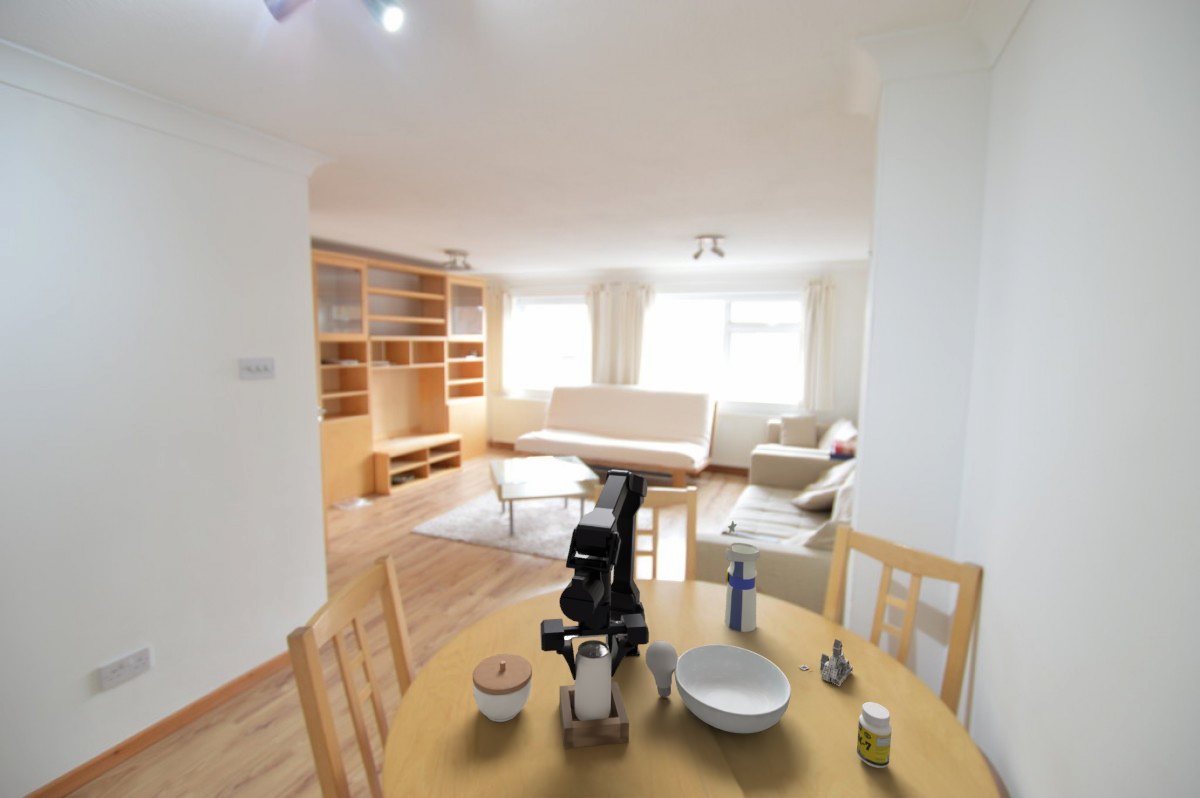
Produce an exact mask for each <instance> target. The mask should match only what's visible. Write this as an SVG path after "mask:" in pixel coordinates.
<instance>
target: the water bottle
mask: <svg viewBox="0 0 1200 798" xmlns="http://www.w3.org/2000/svg"><path fill="white" fill-rule="evenodd" d="M737 525H738V524H737V523H735V522H734V520H732V521H731V524H730V525H728V526H727V527H728V529H729V531H728V534H731V533H736V532H735V528H736V526H737ZM725 556H726V557H725V558H726V560H727V561H729V562H730V564H729V566H728V568H727V570H726V572H725V573H726V574H725V581H726V583H727V585H726V595H725V596H726V597H725V610H724V619H723V620H724V622H723V623H724V624H725V626H726V625H727V626H726V627H728V628H729V629H731V630H732V631H733V630H734V631H736V632H739V633H741V632H742V633H750V632H752V631H755V630H756V629H757V587H756V577H757V575H758V571H757V570H756V566H755V565H756V561H758V560H759V559H760V558H761V554H760V549H759V548H758V547H757V546H755V545H752V544H748V543H744V542H733V543H731V549H729V548H728V547H727V548H726V549H725Z"/></svg>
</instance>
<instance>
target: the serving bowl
mask: <svg viewBox="0 0 1200 798" xmlns="http://www.w3.org/2000/svg"><path fill="white" fill-rule="evenodd" d="M677 658H678V660H677V665H676V667H675V669H674V672H673V673H674V681H675V686H676V689H677V691H678V695H679V696H680V698H681V700H682V702H683V703H684V705H685V706H686V707H687V708H688V709H689V711H691V713H693V715H695V716H696V717H697V718H698V719H700V720H701V721H702V722H704V723H706V724H708V725H709V726H710V727H711V726H712V727H714V728H716V729H720V730H722V731H724V732H725V731H726V732H728V733H735V734H754V733H758V732H759V733H760V732H761V731H765V730H767V729H770V728H771V727H773V726H774V725H776V724H777V723H778V722H780V720H781V719H782V718H783V716H785V713H786V712H787V710H788V707H789V704H790V700H791V695H792V687H791V684H790V682H789V679H788V678H787V675H786V674H785V673H784V672H783V670H781V668H779V667H778V665H776V664H775V663H774V662H772V661H771V660H769V659H768V658H766V657H765V656H763V655H761V654H759V653H756V652H754V651H752V650H748V649H746V648H743V647H739V646H735V645H729V644H718V643H717V644H713V643H712V644H704V645H698V646H695V647H692V648H690V649H688V650H686V651H684V652H683V653H681V655H680V656H679V657H677Z"/></svg>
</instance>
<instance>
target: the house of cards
mask: <svg viewBox="0 0 1200 798" xmlns="http://www.w3.org/2000/svg"><path fill="white" fill-rule="evenodd" d="M842 651H843V643H842V640H839V639H837V638H834V642H833V646H832V654H831V655H830V657H829V655H826V654H824V653H821V657H820V661H819V663H820V667H819V670H820V671H822V672H821V675H820V677H821V678H820V679H822V680H824V681H826V682H828V681H829V682H830V683H831V682H832V683H831V684H833V683H834V685H835V684H836V685H835V686H838V685H839V686H838V687H841V684H842V683H843V682H844V681H845V680H847V677H849V676H850V674H851V673H852V672H853V669H854V667H853V666H852V665H851V664H850V660H849V659H847V658H846V657H845V653H844V652H842ZM798 667H799V668H800V669H801V670H802V671H806V670H809V669H810V667H808V666H807V665H806V664H803V665H800V666H798ZM851 671H852V672H851ZM850 672H851V673H850ZM849 673H850V674H849ZM844 679H845V680H844ZM843 680H844V681H843ZM842 681H843V682H842Z"/></svg>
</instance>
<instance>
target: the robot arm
mask: <svg viewBox="0 0 1200 798" xmlns="http://www.w3.org/2000/svg"><path fill="white" fill-rule="evenodd" d="M647 494H648V481H647V480H646V478H645V477H644V476H643V475H637V474H634V473H633V471H632V472H630V470H623V469H622V470H621V469H611V470H608V471H607V473H606V478H605V483H604V485H603V487H602V490H601V493H600V494H599V497H598V499H597V500H596V503H595V506H594V508H593V510H592V511H590V512H588V513H586V514H584V515H582V517H581V519H580V520H579V521H578V522H577V525H576V526H575V527H574V528H573V531H572V535H571V539H570V543H569V544H570V545H569V549H568V553H567V559H566V563H565V568H566V569H567V568H568V569H574V570H573V571H574V572H573V573H574V574H573V576H572V577H571V580H570V582H569V583H568V585H566V587H565V588H564V589H563V590H562V593H561V595H560V597H559V602H558V603H559V607H560V610H561V613H562V614H563V615H564V616H565V617H566V618H567V619H569V620H571V621H573V622H575V623H577V625H569V626H568V625H566V626H564V620H563V618H551V619H548V618H547V619H542V621H541V622H540V625H539V626H540V627H539V629H540V630H539V631H540V633H539V634H540V636H539V637H540V647H541V648H540V649H541V651H543V652H554V651H555V652H556V655H562V656H563V658H564V660H565V661H566V663H567V666H568V668H569V671H570V673H571V675H572V676H571V677H572V679H573V681H575V680H576V667H575V653H574V646H573V640H574V639H585V638H600V637H605V644H607V645H608V647H609V652H610V654H611V678H614V677H615V674H616V672H617V670H618V668H619V667H620V665H621V662H622V660H623V659H624V658H625V657H634V656H641V652H640V649H639V646H640V645H647V644H648V643H649V642H650V641H649V638H650V632H649V628H648V625H647V623H646V615H645V608H644V605H643V602H641V591H640V589H639V587H638V586H637V584H636V582H635V580H634V569H635V553H636V552H635V549H636V547H635V546H636V529H637V526H636V525H637V514H638V512H639V511H640V509H641V508H642V506H643V504H644V502H645V498H646V497H647ZM577 554H578V555H582V556H587V557H580V556H576V555H577ZM612 571H613V573H612ZM612 575H613V576H612ZM612 577H613V578H612Z"/></svg>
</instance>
